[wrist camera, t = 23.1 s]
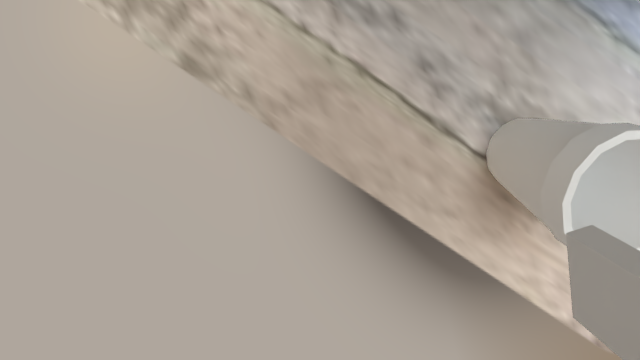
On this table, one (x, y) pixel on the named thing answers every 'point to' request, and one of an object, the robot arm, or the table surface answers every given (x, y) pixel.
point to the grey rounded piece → (572, 174)
